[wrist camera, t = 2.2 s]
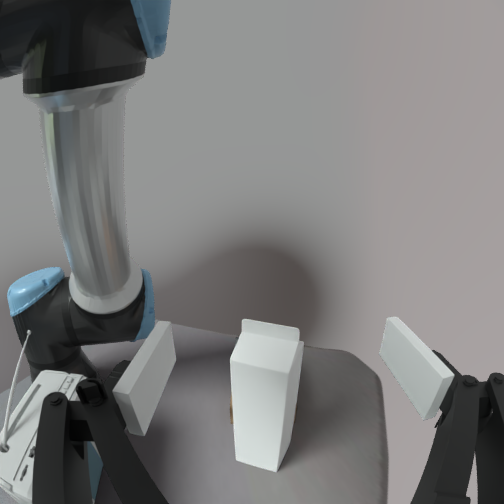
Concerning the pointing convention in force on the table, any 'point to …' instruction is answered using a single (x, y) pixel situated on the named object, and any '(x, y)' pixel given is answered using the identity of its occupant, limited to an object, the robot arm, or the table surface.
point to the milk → (264, 391)
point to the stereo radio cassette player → (35, 433)
